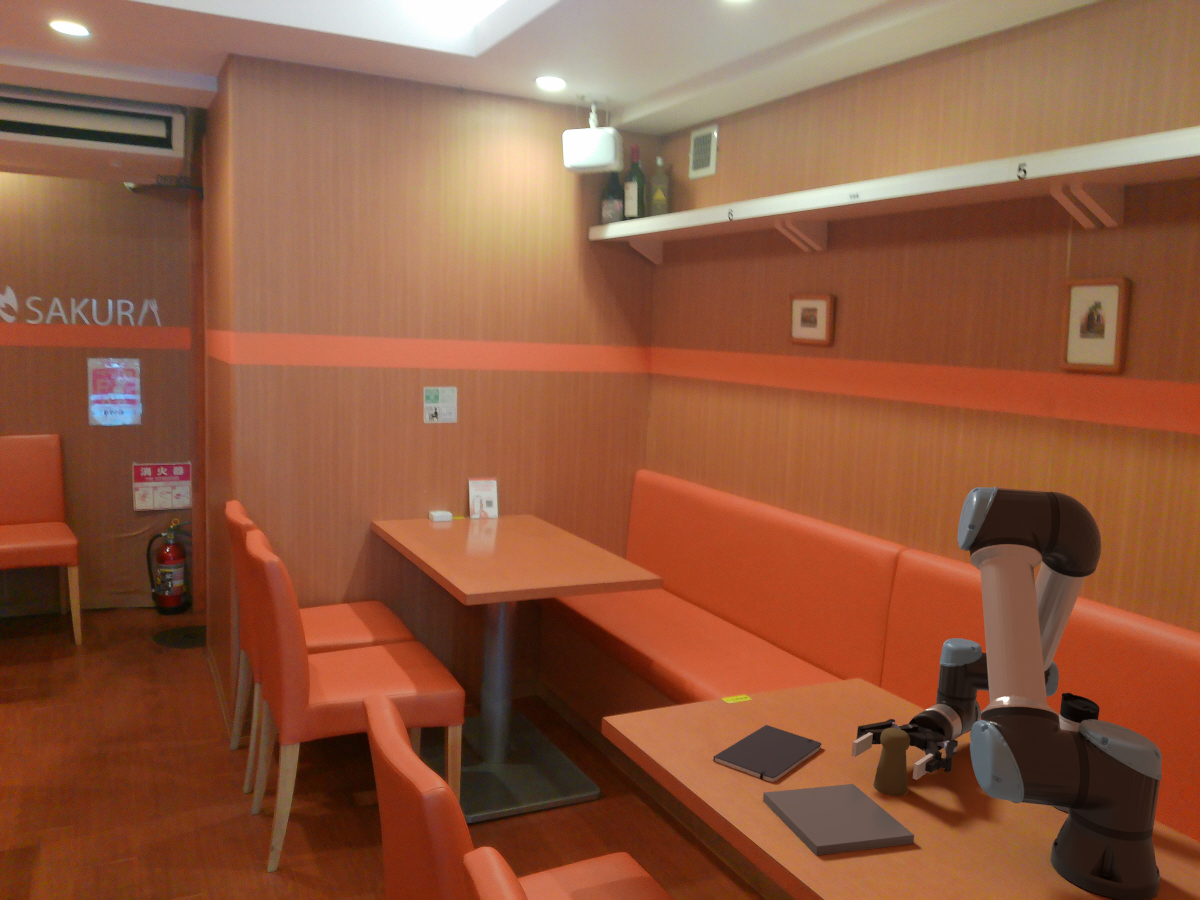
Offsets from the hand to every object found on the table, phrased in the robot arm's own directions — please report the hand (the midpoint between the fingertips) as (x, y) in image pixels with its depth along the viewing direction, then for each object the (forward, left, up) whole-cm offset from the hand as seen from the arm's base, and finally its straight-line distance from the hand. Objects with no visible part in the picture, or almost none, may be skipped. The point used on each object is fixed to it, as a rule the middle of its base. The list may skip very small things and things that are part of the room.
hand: (883, 760), depth 171 cm
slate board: (-7, +14, -7) cm, 17 cm away
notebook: (+19, +12, -7) cm, 24 cm away
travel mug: (-10, -32, -7) cm, 35 cm away
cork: (+2, -3, -7) cm, 8 cm away
